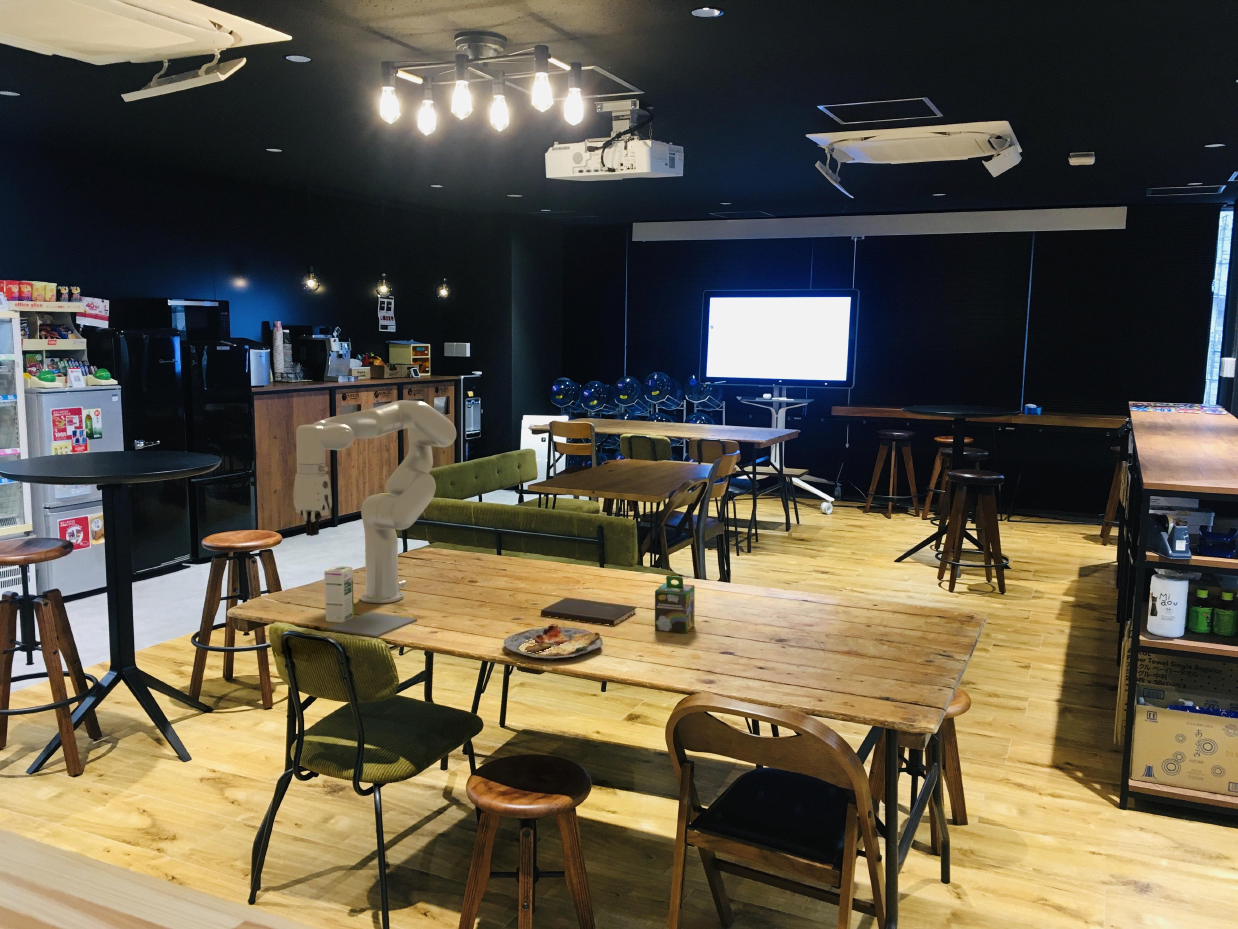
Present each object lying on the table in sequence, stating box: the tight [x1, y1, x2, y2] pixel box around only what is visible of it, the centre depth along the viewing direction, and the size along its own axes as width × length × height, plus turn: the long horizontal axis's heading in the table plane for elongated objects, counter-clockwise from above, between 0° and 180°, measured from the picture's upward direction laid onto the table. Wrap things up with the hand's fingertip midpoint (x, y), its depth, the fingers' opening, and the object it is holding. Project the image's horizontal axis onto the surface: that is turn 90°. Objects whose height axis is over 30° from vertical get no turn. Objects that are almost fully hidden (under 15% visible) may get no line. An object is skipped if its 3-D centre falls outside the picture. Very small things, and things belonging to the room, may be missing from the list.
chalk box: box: [654, 575, 696, 635], centre depth 266 cm, size 9×9×15 cm
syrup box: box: [323, 565, 355, 624], centre depth 269 cm, size 6×6×14 cm
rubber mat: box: [327, 611, 418, 638], centre depth 265 cm, size 18×16×1 cm
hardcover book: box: [540, 597, 638, 626], centre depth 280 cm, size 16×23×2 cm
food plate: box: [503, 624, 604, 661], centre depth 247 cm, size 25×23×4 cm
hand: (312, 534), depth 271 cm, fingers closed
